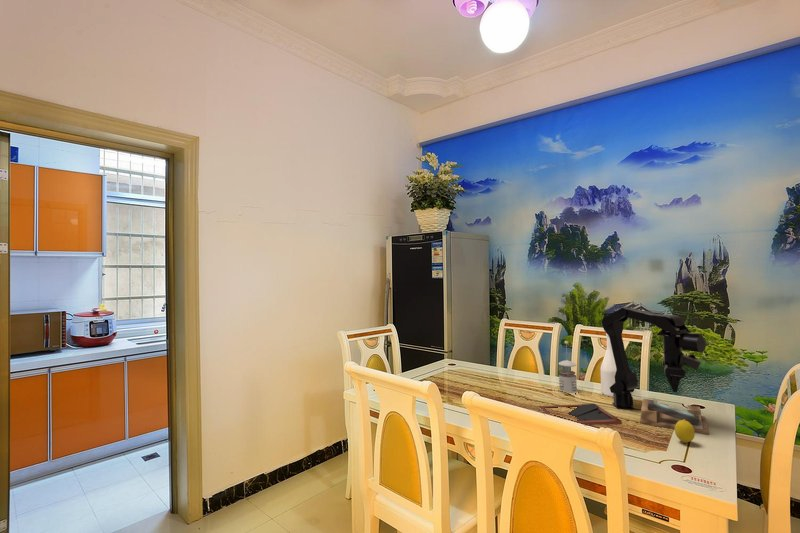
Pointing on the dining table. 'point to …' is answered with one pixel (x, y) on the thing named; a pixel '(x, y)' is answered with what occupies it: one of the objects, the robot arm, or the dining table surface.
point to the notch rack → (670, 418)
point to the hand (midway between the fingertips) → (674, 388)
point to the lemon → (684, 431)
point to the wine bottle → (608, 370)
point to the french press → (567, 381)
